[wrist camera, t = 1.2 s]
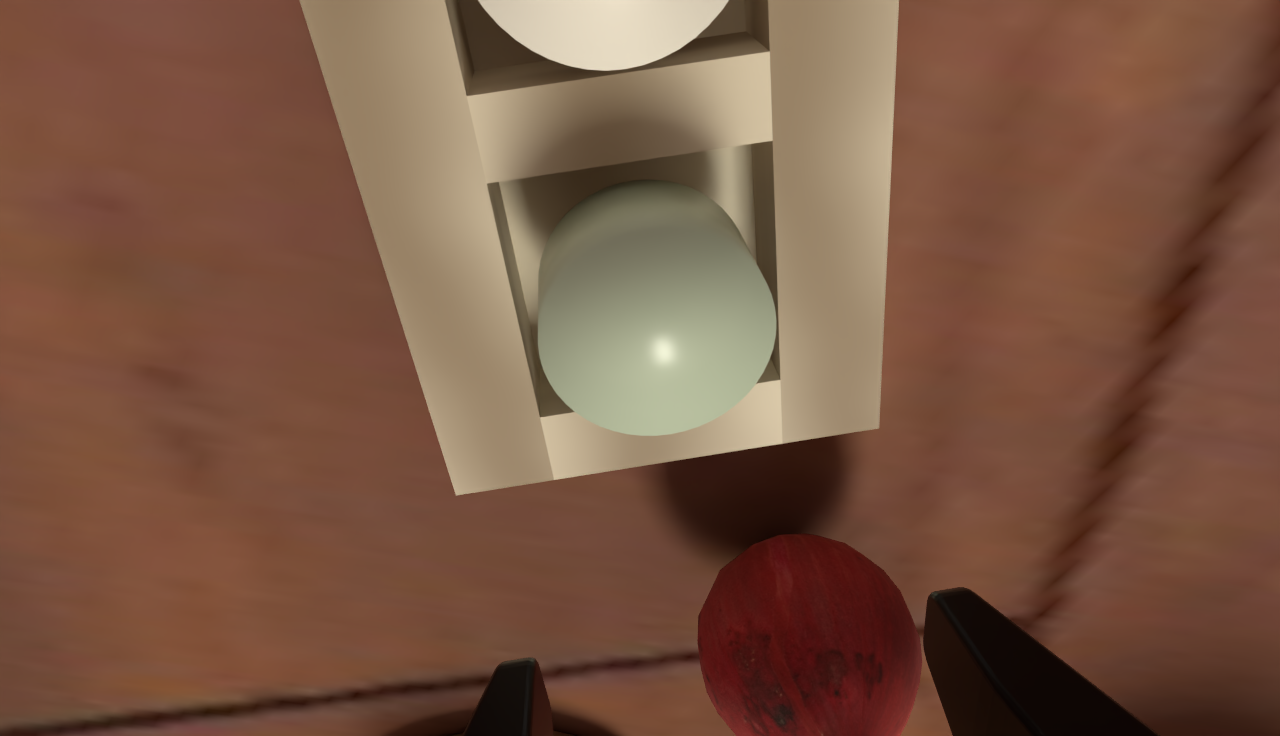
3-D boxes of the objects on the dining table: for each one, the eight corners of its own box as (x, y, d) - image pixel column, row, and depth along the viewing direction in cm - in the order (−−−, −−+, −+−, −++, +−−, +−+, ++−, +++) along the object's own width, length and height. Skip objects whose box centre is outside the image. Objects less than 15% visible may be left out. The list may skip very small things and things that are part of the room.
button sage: (743, 163, 16) (773, 208, 14) (753, 355, 18) (780, 416, 16) (518, 197, 16) (515, 247, 14) (558, 385, 18) (560, 451, 16)
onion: (640, 564, 25) (677, 826, 18) (777, 443, 23) (875, 686, 16) (769, 638, 27) (844, 894, 21) (903, 535, 25) (1033, 780, 19)
